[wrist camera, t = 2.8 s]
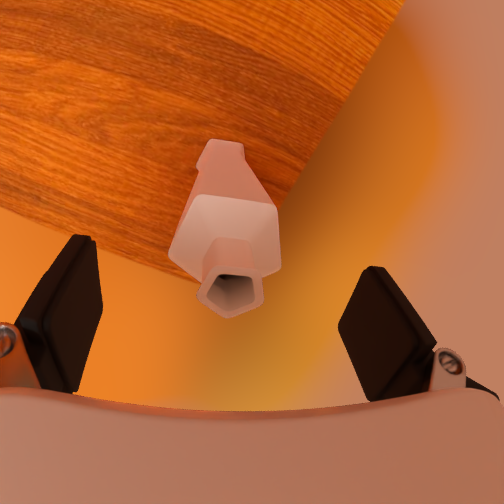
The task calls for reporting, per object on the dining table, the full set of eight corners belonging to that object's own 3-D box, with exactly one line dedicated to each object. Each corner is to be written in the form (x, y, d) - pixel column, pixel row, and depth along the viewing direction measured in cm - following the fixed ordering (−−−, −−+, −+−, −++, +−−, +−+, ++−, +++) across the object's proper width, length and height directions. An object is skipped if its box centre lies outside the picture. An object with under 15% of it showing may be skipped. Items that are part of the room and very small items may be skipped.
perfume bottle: (235, 200, 24) (259, 354, 11) (185, 177, 22) (148, 319, 10) (265, 150, 22) (335, 265, 9) (212, 123, 20) (204, 204, 8)
